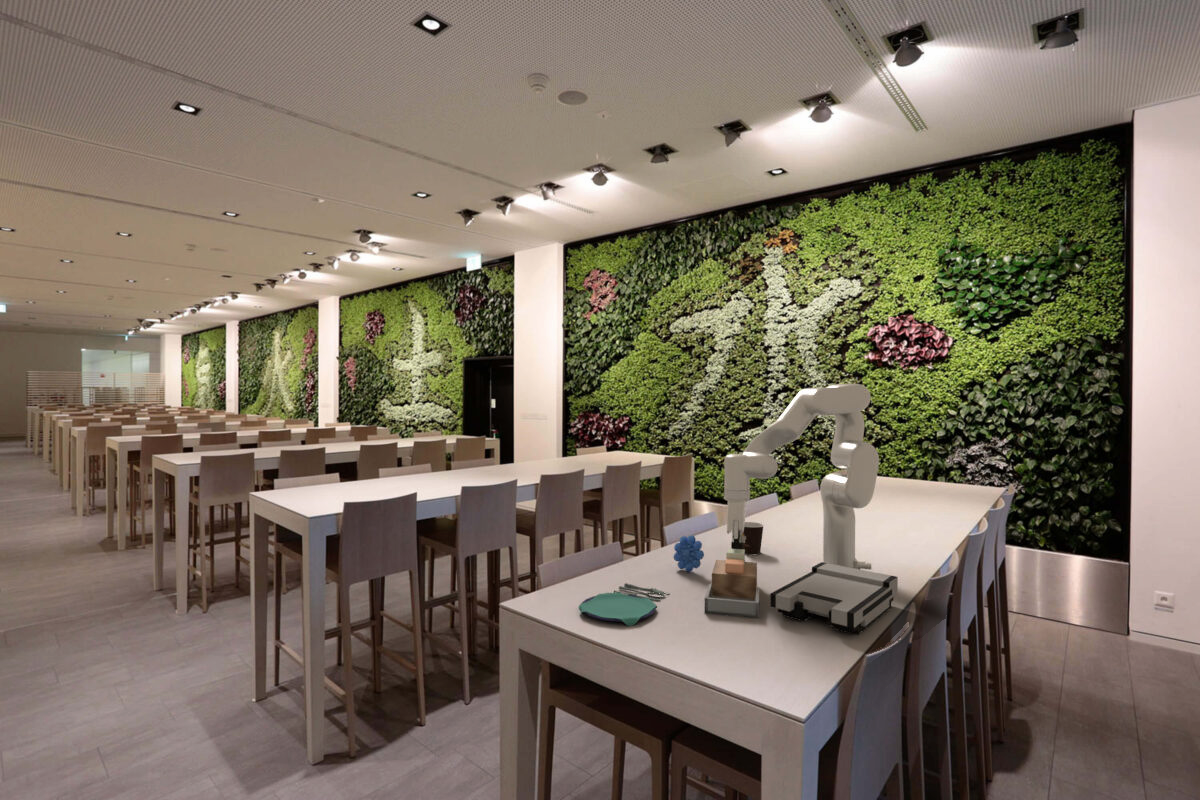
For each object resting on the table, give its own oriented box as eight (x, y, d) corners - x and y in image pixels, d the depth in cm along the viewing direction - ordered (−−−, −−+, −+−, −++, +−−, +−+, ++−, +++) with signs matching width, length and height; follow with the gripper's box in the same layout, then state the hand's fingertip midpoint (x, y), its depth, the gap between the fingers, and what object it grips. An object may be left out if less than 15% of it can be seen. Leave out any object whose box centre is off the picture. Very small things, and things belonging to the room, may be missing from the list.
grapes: (711, 572, 194) (711, 535, 193) (698, 577, 189) (698, 538, 189) (682, 565, 202) (682, 529, 202) (669, 569, 197) (669, 532, 197)
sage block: (744, 563, 180) (744, 549, 180) (744, 567, 175) (744, 553, 175) (727, 561, 181) (727, 548, 181) (726, 566, 176) (726, 552, 176)
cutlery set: (565, 617, 156) (565, 608, 156) (620, 586, 182) (620, 579, 182) (634, 633, 146) (634, 624, 146) (682, 598, 172) (682, 590, 172)
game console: (770, 620, 154) (770, 588, 154) (821, 590, 177) (821, 562, 177) (853, 643, 140) (853, 608, 140) (897, 607, 163) (897, 576, 163)
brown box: (757, 586, 180) (757, 562, 180) (756, 601, 167) (756, 576, 166) (716, 582, 183) (716, 559, 183) (711, 598, 170) (711, 573, 170)
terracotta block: (744, 568, 174) (744, 559, 174) (743, 573, 169) (743, 564, 169) (726, 567, 176) (726, 558, 175) (725, 572, 171) (725, 563, 171)
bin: (759, 602, 166) (759, 587, 166) (758, 618, 154) (758, 602, 154) (709, 597, 170) (709, 583, 170) (704, 613, 158) (704, 598, 158)
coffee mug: (766, 555, 214) (766, 527, 213) (741, 555, 214) (741, 527, 213) (758, 547, 225) (758, 520, 225) (734, 547, 225) (734, 520, 225)
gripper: (726, 490, 193) (726, 548, 193) (722, 498, 179) (722, 560, 179) (750, 491, 191) (750, 549, 191) (748, 499, 177) (748, 562, 177)
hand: (736, 554), depth 185 cm, fingers closed
